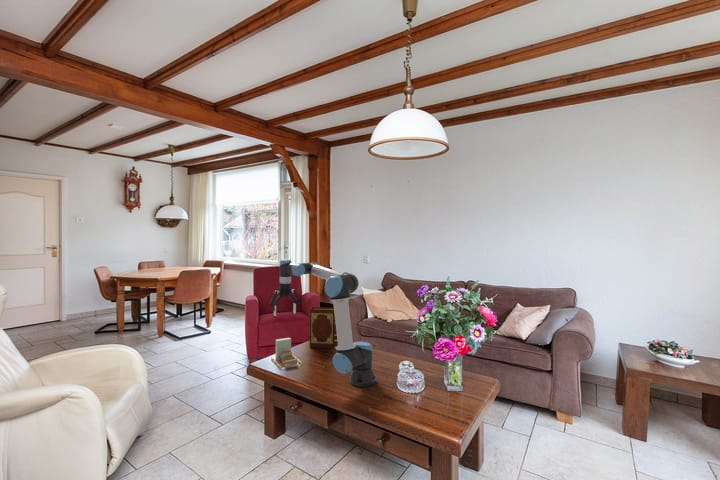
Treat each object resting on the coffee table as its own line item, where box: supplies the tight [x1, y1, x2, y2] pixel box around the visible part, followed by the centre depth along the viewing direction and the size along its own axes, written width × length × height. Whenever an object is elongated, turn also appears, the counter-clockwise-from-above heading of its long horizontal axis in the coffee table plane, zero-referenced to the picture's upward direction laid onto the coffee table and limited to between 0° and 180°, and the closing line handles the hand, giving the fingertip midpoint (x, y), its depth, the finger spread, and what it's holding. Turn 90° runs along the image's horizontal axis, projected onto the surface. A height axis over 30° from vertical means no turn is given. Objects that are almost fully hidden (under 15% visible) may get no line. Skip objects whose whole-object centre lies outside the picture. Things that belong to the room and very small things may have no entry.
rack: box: [270, 353, 303, 370], centre depth 229 cm, size 20×15×7 cm
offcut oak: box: [280, 350, 293, 358], centre depth 229 cm, size 4×7×3 cm
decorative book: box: [309, 306, 338, 349], centre depth 265 cm, size 22×8×30 cm, turn 84°
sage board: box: [275, 337, 292, 361], centre depth 234 cm, size 3×10×14 cm, turn 121°
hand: (284, 314), depth 226 cm, fingers open, 13 cm apart
